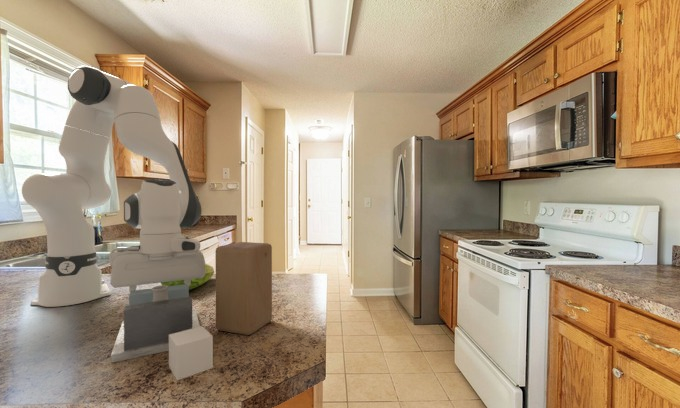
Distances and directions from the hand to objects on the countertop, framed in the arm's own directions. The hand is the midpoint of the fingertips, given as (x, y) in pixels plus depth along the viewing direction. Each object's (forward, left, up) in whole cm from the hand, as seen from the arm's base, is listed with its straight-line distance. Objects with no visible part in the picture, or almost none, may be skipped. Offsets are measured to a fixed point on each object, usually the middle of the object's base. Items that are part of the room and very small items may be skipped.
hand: (161, 299), depth 76 cm
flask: (+9, 0, -5) cm, 10 cm away
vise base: (+8, 0, -6) cm, 10 cm away
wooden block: (+11, +18, -6) cm, 22 cm away
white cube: (+25, +5, -7) cm, 26 cm away
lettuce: (-34, +9, -7) cm, 36 cm away
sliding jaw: (+3, 0, -5) cm, 5 cm away
